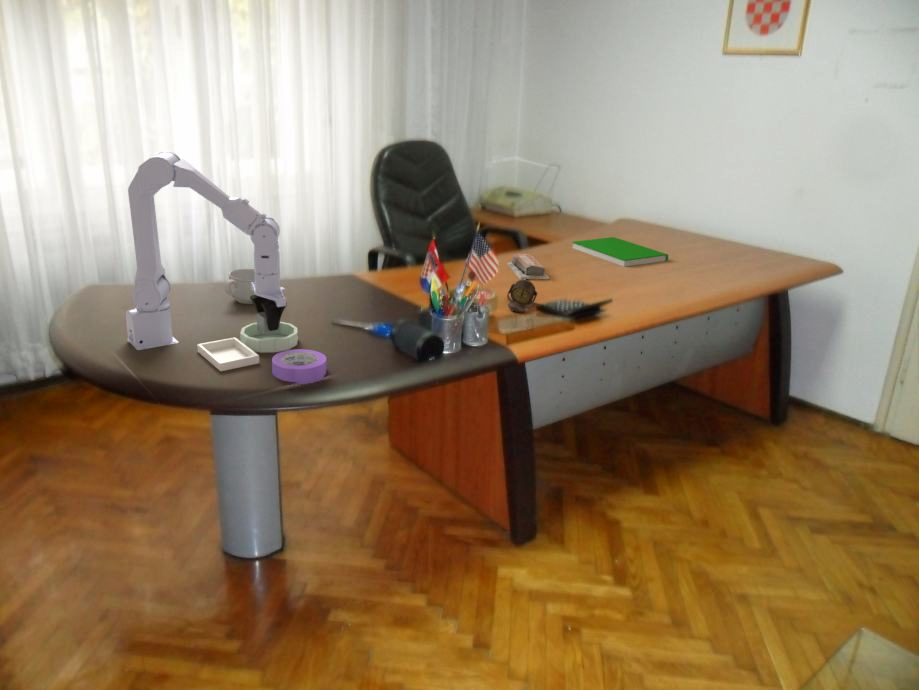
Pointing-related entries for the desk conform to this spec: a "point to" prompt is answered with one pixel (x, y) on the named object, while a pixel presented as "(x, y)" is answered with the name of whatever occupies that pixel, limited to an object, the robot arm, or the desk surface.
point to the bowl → (270, 338)
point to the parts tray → (228, 354)
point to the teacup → (241, 285)
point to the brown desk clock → (521, 295)
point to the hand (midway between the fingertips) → (269, 327)
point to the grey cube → (264, 325)
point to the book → (619, 251)
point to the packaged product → (527, 267)
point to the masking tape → (302, 374)
